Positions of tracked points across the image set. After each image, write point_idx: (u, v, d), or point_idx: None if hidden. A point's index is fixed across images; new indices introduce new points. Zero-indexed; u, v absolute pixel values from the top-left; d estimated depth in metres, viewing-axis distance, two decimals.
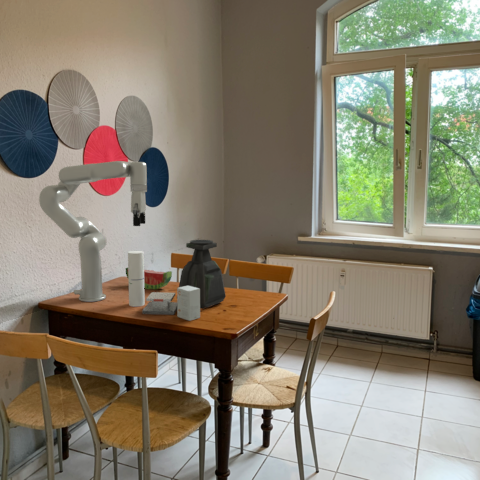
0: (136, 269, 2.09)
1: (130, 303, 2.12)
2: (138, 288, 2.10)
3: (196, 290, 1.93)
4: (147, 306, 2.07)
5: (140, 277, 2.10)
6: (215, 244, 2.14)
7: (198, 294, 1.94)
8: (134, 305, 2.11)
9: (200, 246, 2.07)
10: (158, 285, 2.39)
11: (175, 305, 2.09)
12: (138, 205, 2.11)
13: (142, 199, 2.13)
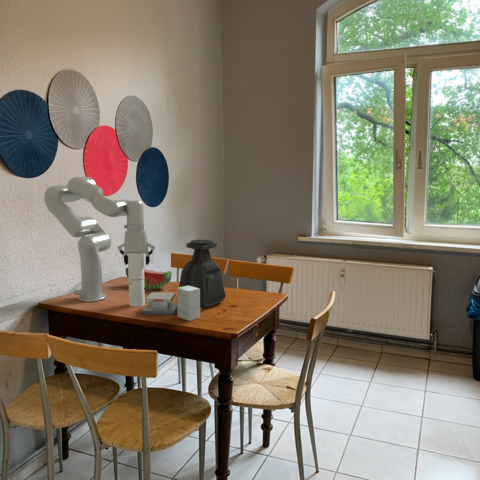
0: (136, 269, 2.09)
1: (130, 303, 2.12)
2: (138, 288, 2.10)
3: (196, 290, 1.93)
4: (147, 306, 2.07)
5: (140, 277, 2.10)
6: (215, 244, 2.14)
7: (198, 294, 1.94)
8: (134, 305, 2.11)
9: (200, 246, 2.07)
10: (158, 285, 2.39)
11: (175, 305, 2.09)
12: None
13: None
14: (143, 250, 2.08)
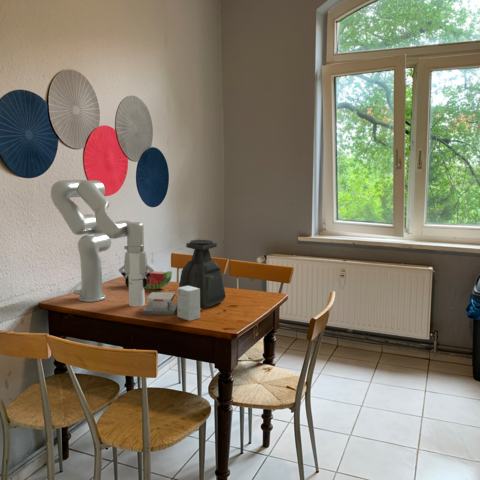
0: (136, 269, 2.09)
1: (130, 303, 2.12)
2: (138, 288, 2.10)
3: (196, 290, 1.93)
4: (147, 306, 2.07)
5: (140, 277, 2.10)
6: (215, 244, 2.14)
7: (198, 294, 1.94)
8: (134, 305, 2.11)
9: (200, 246, 2.07)
10: (158, 285, 2.39)
11: (175, 305, 2.09)
12: None
13: None
14: (143, 271, 2.09)
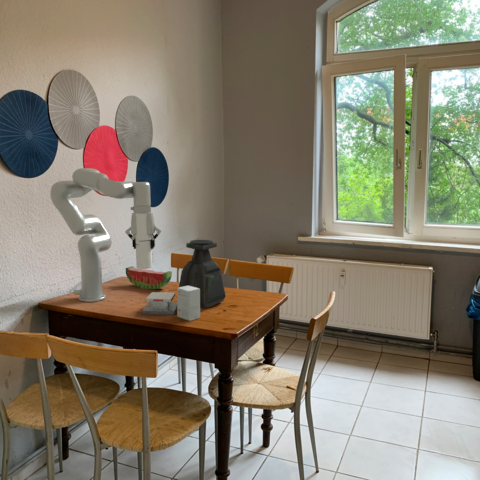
0: (143, 229, 2.04)
1: (138, 265, 2.07)
2: (145, 250, 2.05)
3: (196, 290, 1.93)
4: (147, 306, 2.07)
5: (147, 238, 2.05)
6: (215, 244, 2.14)
7: (198, 294, 1.94)
8: (142, 267, 2.06)
9: (200, 246, 2.07)
10: (158, 285, 2.39)
11: (175, 305, 2.09)
12: (154, 226, 2.08)
13: None
14: (150, 232, 2.04)
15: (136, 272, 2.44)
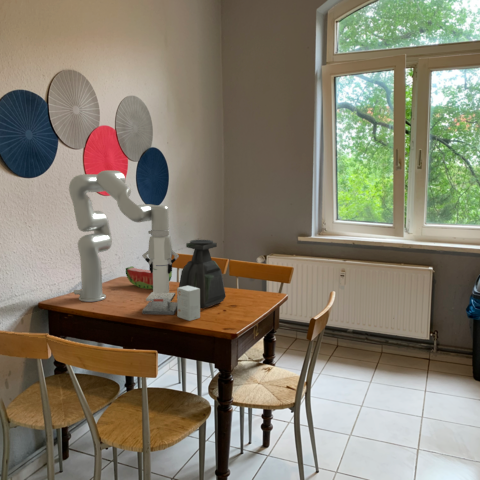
0: (161, 254, 2.00)
1: (154, 290, 2.03)
2: (163, 274, 2.02)
3: (196, 290, 1.93)
4: (147, 306, 2.07)
5: (165, 263, 2.02)
6: (215, 244, 2.14)
7: (198, 294, 1.94)
8: (159, 292, 2.02)
9: (200, 246, 2.07)
10: None
11: (175, 305, 2.09)
12: (172, 250, 2.04)
13: None
14: (168, 257, 2.01)
15: (136, 272, 2.44)
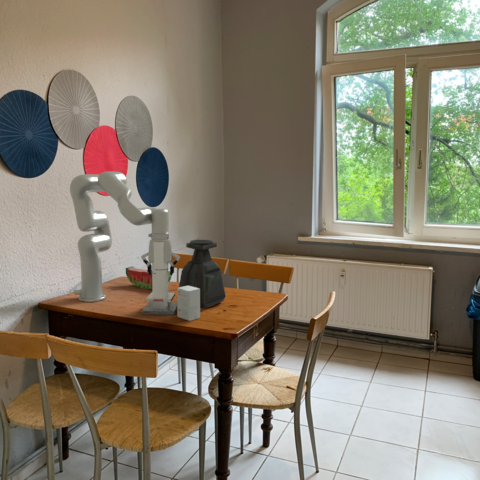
0: (160, 258, 2.00)
1: (154, 294, 2.04)
2: (162, 279, 2.02)
3: (196, 290, 1.93)
4: (147, 306, 2.07)
5: (164, 267, 2.02)
6: (215, 244, 2.14)
7: (198, 294, 1.94)
8: (158, 296, 2.03)
9: (200, 246, 2.07)
10: None
11: (175, 305, 2.09)
12: None
13: None
14: (168, 260, 2.01)
15: (136, 272, 2.44)
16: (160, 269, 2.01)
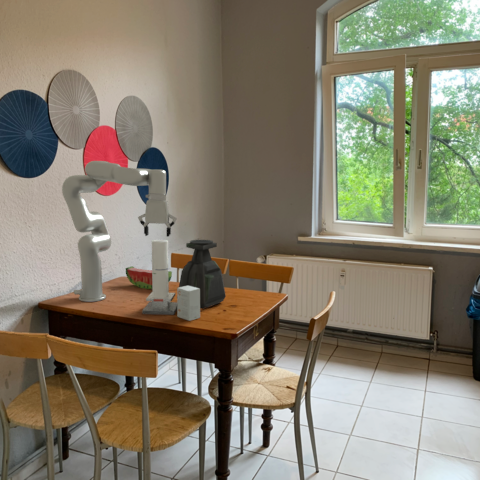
0: (160, 258, 2.00)
1: (154, 294, 2.04)
2: (162, 279, 2.02)
3: (196, 290, 1.93)
4: (147, 306, 2.07)
5: (164, 267, 2.02)
6: (215, 244, 2.14)
7: (198, 294, 1.94)
8: (158, 296, 2.03)
9: (200, 246, 2.07)
10: None
11: (175, 305, 2.09)
12: None
13: None
14: (164, 221, 2.01)
15: (136, 272, 2.44)
16: (160, 269, 2.01)
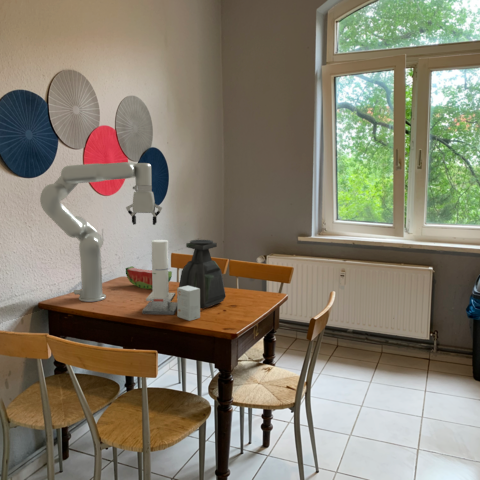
0: (160, 258, 2.00)
1: (154, 294, 2.04)
2: (162, 279, 2.02)
3: (196, 290, 1.93)
4: (147, 306, 2.07)
5: (164, 267, 2.02)
6: (215, 244, 2.14)
7: (198, 294, 1.94)
8: (158, 296, 2.03)
9: (200, 246, 2.07)
10: None
11: (175, 305, 2.09)
12: None
13: None
14: (150, 210, 2.18)
15: (136, 272, 2.44)
16: (160, 269, 2.01)
